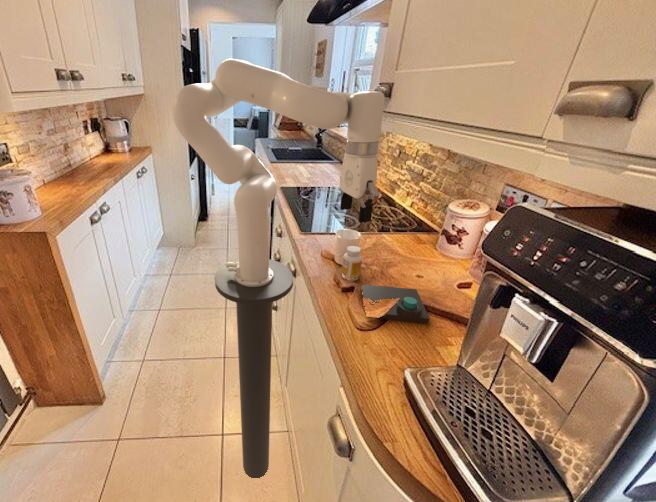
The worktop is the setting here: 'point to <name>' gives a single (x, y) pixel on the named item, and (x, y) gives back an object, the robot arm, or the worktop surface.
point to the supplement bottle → (352, 263)
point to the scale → (398, 310)
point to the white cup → (345, 242)
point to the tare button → (410, 303)
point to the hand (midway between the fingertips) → (354, 215)
